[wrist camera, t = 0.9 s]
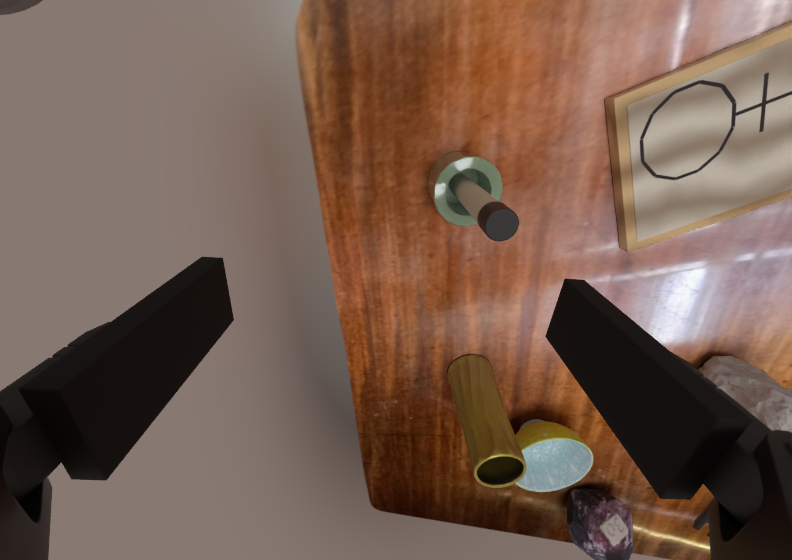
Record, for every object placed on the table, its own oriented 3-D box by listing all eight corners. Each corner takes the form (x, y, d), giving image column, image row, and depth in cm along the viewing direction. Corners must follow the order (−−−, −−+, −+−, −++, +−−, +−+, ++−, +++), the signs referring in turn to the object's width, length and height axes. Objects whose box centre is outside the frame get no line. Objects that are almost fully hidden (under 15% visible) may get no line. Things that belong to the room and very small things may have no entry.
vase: (500, 366, 44) (544, 465, 32) (472, 394, 47) (503, 497, 34) (465, 346, 43) (497, 443, 30) (438, 376, 45) (456, 478, 32)
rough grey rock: (749, 433, 48) (894, 523, 33) (682, 449, 49) (795, 543, 35) (726, 334, 46) (869, 382, 32) (657, 353, 47) (764, 408, 33)
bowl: (564, 392, 47) (588, 429, 41) (576, 441, 52) (598, 480, 46) (488, 414, 49) (501, 452, 43) (506, 460, 53) (520, 499, 48)
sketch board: (604, 99, 30) (615, 98, 29) (849, -4, 27) (875, -11, 26) (619, 248, 37) (628, 253, 35) (817, 179, 34) (837, 182, 32)
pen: (445, 177, 33) (480, 216, 20) (464, 169, 32) (515, 203, 19) (451, 196, 34) (489, 246, 20) (470, 188, 33) (522, 234, 20)
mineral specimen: (639, 494, 55) (662, 572, 48) (585, 498, 62) (599, 566, 56) (598, 479, 53) (616, 559, 46) (547, 485, 60) (556, 555, 53)
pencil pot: (419, 165, 33) (424, 173, 28) (477, 141, 32) (492, 145, 27) (438, 219, 35) (446, 235, 30) (492, 198, 34) (509, 211, 29)
